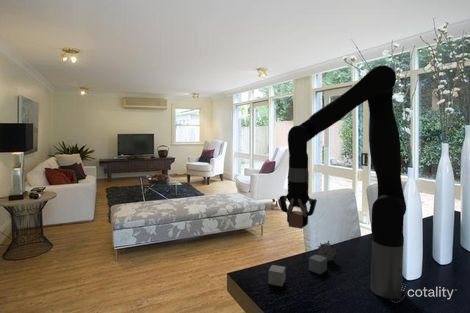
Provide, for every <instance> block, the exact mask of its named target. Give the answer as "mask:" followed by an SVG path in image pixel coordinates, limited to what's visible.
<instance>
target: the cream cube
mask: <svg viewBox="0 0 470 313" xmlns="http://www.w3.org/2000/svg"><path fill="white" fill-rule="evenodd" d="M286 268H287V267H286V266H282V265H275V264H271V266H270V267H269V269H268V280H267V282H268V285H272V286H277V287H283V286H284V284H285V282H286Z"/></svg>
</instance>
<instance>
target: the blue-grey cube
mask: <svg viewBox="0 0 470 313" xmlns="http://www.w3.org/2000/svg"><path fill="white" fill-rule="evenodd" d="M316 254H317V253H315V254H313V255H311V256H310V257H309V258H308V271H310V272H313V273H315V274H318V275H322V274H323V273H325V272H326V271H327V269H328V262H327V258H325V257H322V256H319V255H318V254H317V255H316Z"/></svg>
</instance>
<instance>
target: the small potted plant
mask: <svg viewBox="0 0 470 313" xmlns="http://www.w3.org/2000/svg"><path fill="white" fill-rule="evenodd" d="M319 245H320V246H319ZM319 245H318V246H317V248H318V251H317V253H315V254H316V255H319V256H322V257H325V258H327V263H328V262H331V261H332V262H334V260H335V259H337V257H336V254H337V252H338V251H339V249H336V248H335V247H334V245H333V244H331V243H330V241H329V240H327V242H326V243H321V242H320V244H319Z"/></svg>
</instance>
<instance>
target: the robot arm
mask: <svg viewBox="0 0 470 313" xmlns="http://www.w3.org/2000/svg"><path fill="white" fill-rule="evenodd" d="M396 74H397V73H396V71H395V70H394V69H393V68H392V67H390V66H389V65H384V64H383V65H378V66H377V65H376V66H374V67H373V68H371V69H370V70H369V71H368V72H367V73H366V74H365V75H363V77H362V78H361V79H359V80H358V81H357V82H356V83H355V84H354V85H353V86H352V87H350V88H349V89H347V91H345V92H344V93H342V94H341V95H339V96H338V97H336V98H335V99H334V100H332V101H330V102H329V103H328V104H326V105H324V106H323V107H321V108H320V109H318V110H317V111H316V112H314V113H313V114H312V115H311V116H310V117H309V118H308V119H307V120H305V121H304V122H302V123H300V124H299V125H294V126H292V127H291V128H290V129H289V131H288V133H287V144H288V145H287V147H288V171H287V193H286V195H283V194H282V195H281V196H279V201H280V206H281V210H282V211H281V212H283V213H285V214H286V218H287V219H286V222H287V224H288V225H289V213H290V212H292V211H293V210H294V208H295V207H296V208H299V209H300V211H301V212H302V213H303V226H304V227H303V228H305V227H306V226H307V225H308V223H309V216H310V217H311V216H312V215H313V214H314V213H315V209H316V204H317V202H318V201H317V199H316V198H314V199H313V198H311V197H310V196H309V182H310V181H309V179H310V178H309V176H310V174H309V154H308V142H309V141H311V140H312V139H314V138H315V137H316V136H317V135H319V134H321V133H322V132H324V131H325V130H327V129H329V128H330V127H332V126H333V125H334V124H336V123H338V122H339V121H340V120H342V119H343V118H344V117H346V116H347V115H348V114H350V113H351V112H352V111H353V110H354V109H356V108H358V106H360V105H362V104H363V103H365V102H367V106H368V112H369V113H368V114H369V117H368V118H369V119H368V145H369V156H370V160H371V163H372V166H373V170H374V172H375V176H376V180H377V182H376V183H377V198H376V199H375V201H374V202H373V203H372V208H371V235H372V242H371V243H372V244H371V247H372V248H371V267H370V290H371V292H372V293H373V294H375V295H376V296H378V297H380V298H385V299H391V300H392V299H393V300H394V299H396V300H401V299H402V290H403V289H402V287H403V267H404V266H403V262H404V261H403V260H404V245H405V244H404V242H405V240H404V238H405V237H404V218H405V217H404V216H405V215H406V212H407V203H406V200H405V195H404V194H405V193H404V189H403V184H402V183H403V182H402V153H401V152H402V150H401V149H402V148H401V137H400V130H399V127H398V124H397V120H396V116H395V112H394V107H393V103H394V102H393V98H394V97H393V92H394V87H395V85H396V82H397V75H396ZM287 200H288V202H289V205H287ZM308 202H309V203H308ZM307 203H308V204H309V209H308V206H307Z"/></svg>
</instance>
